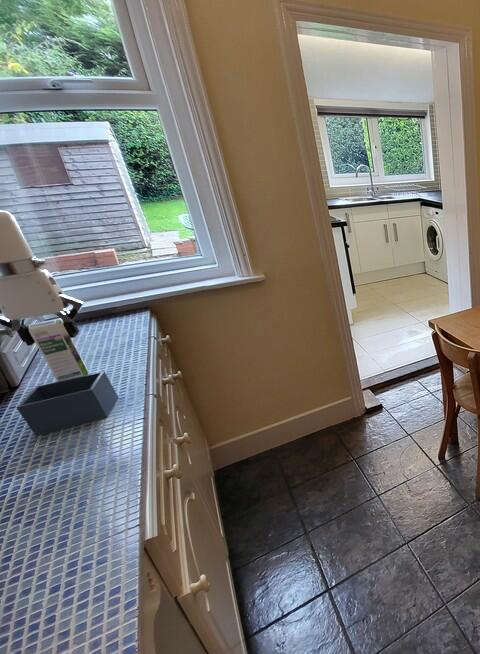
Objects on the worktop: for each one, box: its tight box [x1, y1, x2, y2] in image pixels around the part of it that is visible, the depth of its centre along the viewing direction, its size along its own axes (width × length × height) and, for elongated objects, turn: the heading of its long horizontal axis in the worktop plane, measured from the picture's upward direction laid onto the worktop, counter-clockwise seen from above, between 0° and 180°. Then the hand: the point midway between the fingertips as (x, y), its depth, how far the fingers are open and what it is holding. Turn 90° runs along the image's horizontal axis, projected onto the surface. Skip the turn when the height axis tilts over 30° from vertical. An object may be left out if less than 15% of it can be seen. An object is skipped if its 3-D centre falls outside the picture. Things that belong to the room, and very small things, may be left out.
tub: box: [16, 370, 119, 437], centre depth 95 cm, size 12×10×8 cm
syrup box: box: [28, 317, 90, 382], centre depth 101 cm, size 6×6×14 cm
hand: (53, 339), depth 100 cm, fingers closed on syrup box, 6 cm apart
